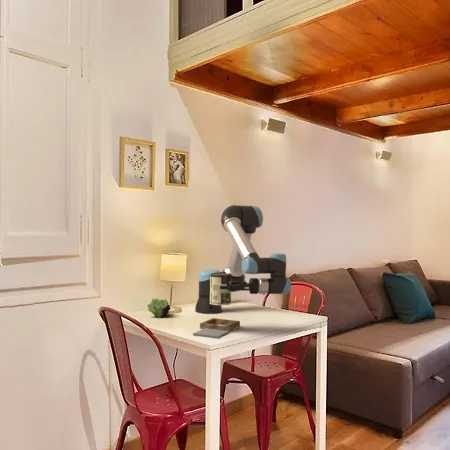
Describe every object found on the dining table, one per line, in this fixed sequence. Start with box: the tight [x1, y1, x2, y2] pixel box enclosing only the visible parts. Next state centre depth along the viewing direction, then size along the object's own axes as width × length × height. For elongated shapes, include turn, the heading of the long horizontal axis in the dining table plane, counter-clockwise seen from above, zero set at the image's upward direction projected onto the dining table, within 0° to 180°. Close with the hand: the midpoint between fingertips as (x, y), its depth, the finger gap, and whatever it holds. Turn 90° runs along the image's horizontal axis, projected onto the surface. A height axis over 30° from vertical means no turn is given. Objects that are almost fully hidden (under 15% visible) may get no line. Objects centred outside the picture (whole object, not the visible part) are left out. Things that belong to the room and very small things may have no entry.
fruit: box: [147, 298, 171, 318], centre depth 239 cm, size 10×10×15 cm
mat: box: [192, 328, 230, 339], centre depth 202 cm, size 12×12×1 cm
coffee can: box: [210, 273, 232, 306], centre depth 213 cm, size 10×10×14 cm
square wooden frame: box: [199, 317, 241, 332], centre depth 216 cm, size 14×14×2 cm
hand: (211, 285), depth 213 cm, fingers closed on coffee can, 10 cm apart
